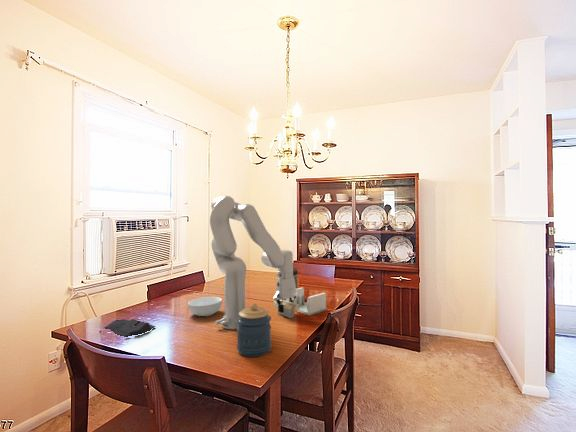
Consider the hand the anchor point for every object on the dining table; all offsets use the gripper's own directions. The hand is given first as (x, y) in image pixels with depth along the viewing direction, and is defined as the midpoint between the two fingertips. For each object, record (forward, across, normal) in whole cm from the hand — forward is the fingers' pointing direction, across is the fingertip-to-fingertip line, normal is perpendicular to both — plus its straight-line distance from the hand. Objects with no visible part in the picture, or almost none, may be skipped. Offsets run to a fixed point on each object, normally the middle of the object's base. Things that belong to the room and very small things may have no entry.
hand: (286, 310), depth 158 cm
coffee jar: (+3, +20, +19) cm, 28 cm away
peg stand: (+2, +14, 0) cm, 14 cm away
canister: (+3, -35, -22) cm, 41 cm away
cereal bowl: (+3, -29, +30) cm, 42 cm away
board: (-1, 0, 0) cm, 1 cm away
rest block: (+2, 0, 0) cm, 2 cm away
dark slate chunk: (+3, -65, +34) cm, 73 cm away
